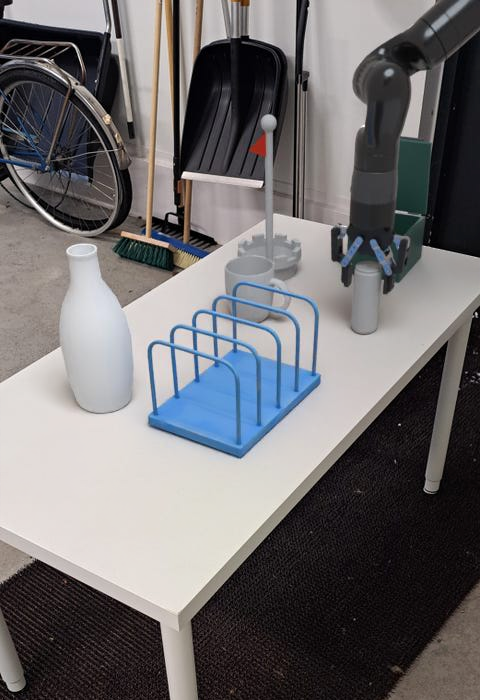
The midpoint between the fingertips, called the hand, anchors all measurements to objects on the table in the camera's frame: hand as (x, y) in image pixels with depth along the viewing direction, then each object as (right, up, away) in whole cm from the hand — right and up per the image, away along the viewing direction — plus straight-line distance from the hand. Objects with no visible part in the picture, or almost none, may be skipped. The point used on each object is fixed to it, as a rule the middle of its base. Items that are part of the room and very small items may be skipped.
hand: (366, 288), depth 151 cm
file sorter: (-23, -23, -13) cm, 35 cm away
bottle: (-45, -21, -10) cm, 51 cm away
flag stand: (-16, +11, +26) cm, 32 cm away
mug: (-19, -3, +10) cm, 21 cm away
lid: (+9, +28, +19) cm, 35 cm away
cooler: (+7, +12, +26) cm, 29 cm away
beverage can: (0, -6, +5) cm, 8 cm away
